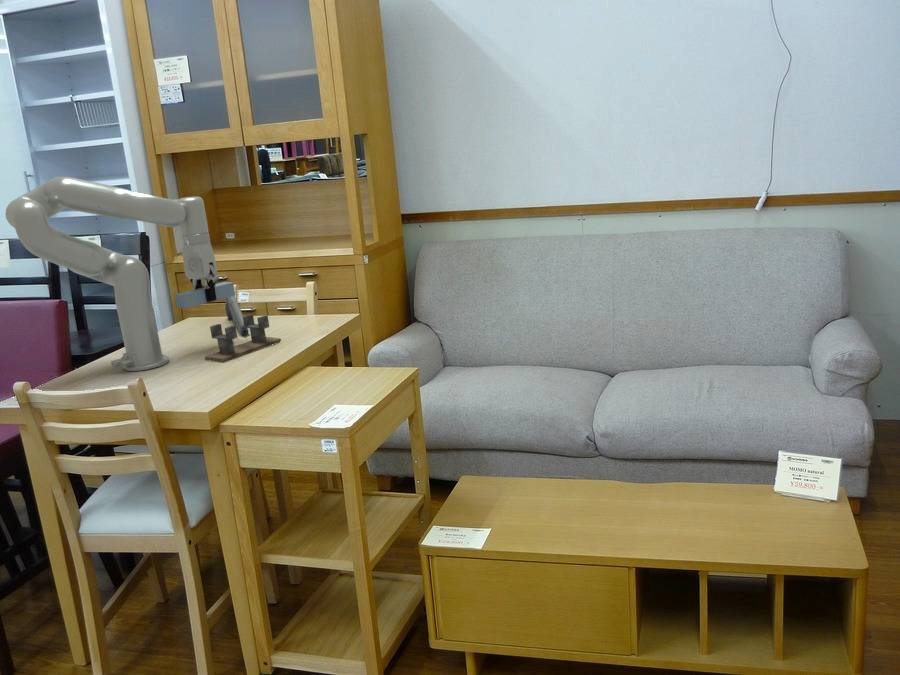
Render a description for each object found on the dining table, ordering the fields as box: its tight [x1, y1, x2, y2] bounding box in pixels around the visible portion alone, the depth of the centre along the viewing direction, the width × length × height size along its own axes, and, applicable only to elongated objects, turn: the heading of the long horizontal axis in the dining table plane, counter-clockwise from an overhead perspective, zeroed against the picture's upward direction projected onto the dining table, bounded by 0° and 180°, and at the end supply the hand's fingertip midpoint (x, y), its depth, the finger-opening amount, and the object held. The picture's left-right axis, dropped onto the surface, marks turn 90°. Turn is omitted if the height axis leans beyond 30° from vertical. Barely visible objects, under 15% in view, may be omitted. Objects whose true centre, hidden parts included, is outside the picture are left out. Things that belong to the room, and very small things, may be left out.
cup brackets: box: [204, 313, 282, 363], centre depth 238 cm, size 22×8×9 cm, turn 144°
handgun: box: [224, 295, 249, 336], centre depth 270 cm, size 31×3×15 cm, turn 24°
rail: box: [174, 281, 236, 310], centre depth 241 cm, size 18×4×4 cm, turn 144°
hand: (206, 300), depth 242 cm, fingers closed on rail, 4 cm apart
